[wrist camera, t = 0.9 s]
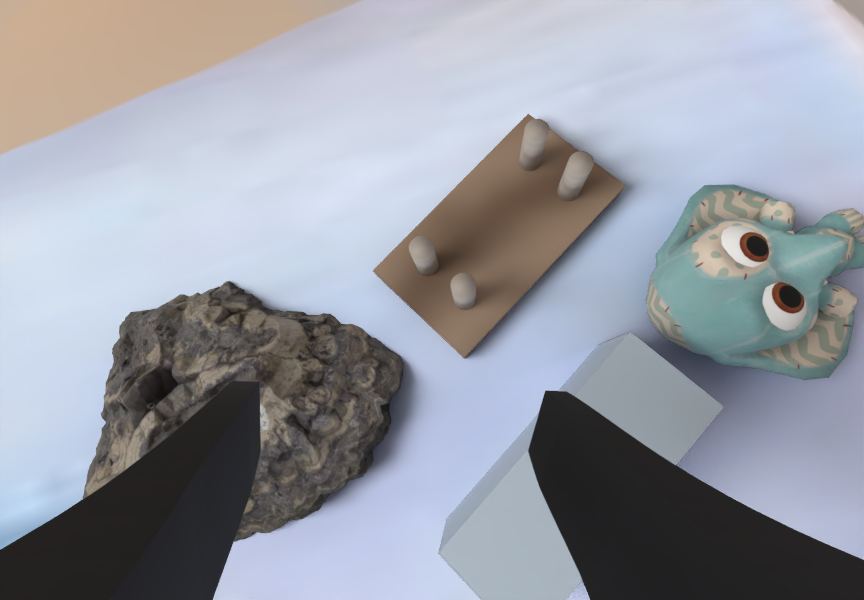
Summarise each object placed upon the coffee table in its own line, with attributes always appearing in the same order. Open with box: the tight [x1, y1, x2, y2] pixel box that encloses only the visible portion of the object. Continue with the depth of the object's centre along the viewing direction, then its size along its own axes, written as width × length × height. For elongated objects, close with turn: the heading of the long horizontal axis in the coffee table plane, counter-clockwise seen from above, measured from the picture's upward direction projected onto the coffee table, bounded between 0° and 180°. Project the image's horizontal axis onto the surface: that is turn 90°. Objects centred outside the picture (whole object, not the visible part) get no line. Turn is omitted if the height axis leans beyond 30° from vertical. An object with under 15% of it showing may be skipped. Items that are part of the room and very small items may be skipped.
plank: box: [438, 332, 724, 600], centre depth 19 cm, size 4×12×5 cm, turn 137°
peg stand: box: [373, 114, 626, 359], centre depth 22 cm, size 7×13×4 cm, turn 136°
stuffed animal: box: [646, 185, 864, 380], centre depth 20 cm, size 11×7×12 cm
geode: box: [83, 281, 403, 542], centre depth 22 cm, size 19×4×15 cm
